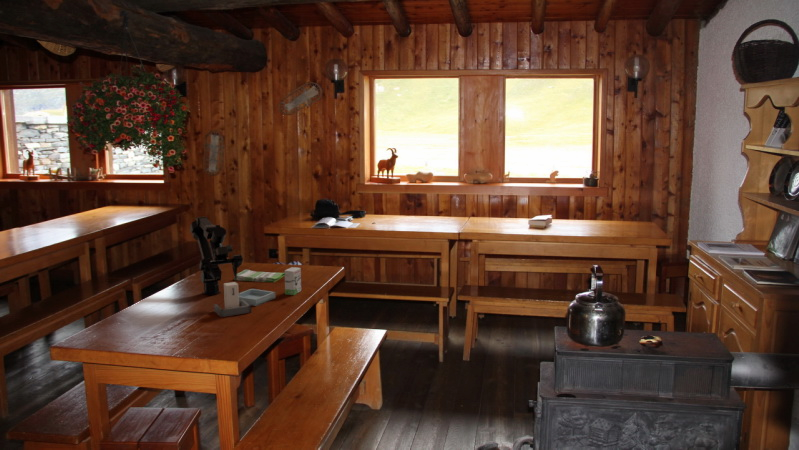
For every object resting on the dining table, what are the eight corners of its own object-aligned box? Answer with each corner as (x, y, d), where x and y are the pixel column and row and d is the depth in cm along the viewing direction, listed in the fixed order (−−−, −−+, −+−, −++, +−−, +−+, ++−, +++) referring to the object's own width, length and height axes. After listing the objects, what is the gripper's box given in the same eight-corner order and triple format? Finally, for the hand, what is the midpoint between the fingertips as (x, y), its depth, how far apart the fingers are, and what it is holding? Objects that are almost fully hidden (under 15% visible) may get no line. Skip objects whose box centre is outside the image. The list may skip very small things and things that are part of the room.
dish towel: (246, 273, 361) (245, 267, 361) (286, 275, 357) (286, 269, 356) (232, 281, 345) (232, 275, 344) (274, 283, 340) (274, 277, 340)
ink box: (294, 295, 317) (293, 271, 315) (284, 294, 318) (283, 270, 316) (301, 290, 325) (301, 267, 323) (292, 290, 326) (291, 266, 324)
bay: (214, 310, 293) (213, 304, 292) (243, 306, 299) (243, 299, 299) (220, 317, 284) (220, 310, 283) (251, 312, 290) (251, 305, 290)
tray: (232, 302, 306) (231, 295, 306) (252, 294, 318) (251, 288, 318) (256, 306, 300) (255, 299, 299) (275, 298, 312) (275, 292, 311)
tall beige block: (225, 310, 293) (223, 283, 291) (236, 309, 295) (234, 281, 293) (229, 314, 288) (227, 286, 285) (240, 312, 290) (239, 285, 288)
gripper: (199, 241, 293) (207, 270, 286) (240, 237, 303) (249, 265, 295) (196, 255, 301) (203, 284, 294) (236, 251, 311) (244, 279, 303)
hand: (225, 278), depth 296 cm, fingers open, 9 cm apart
